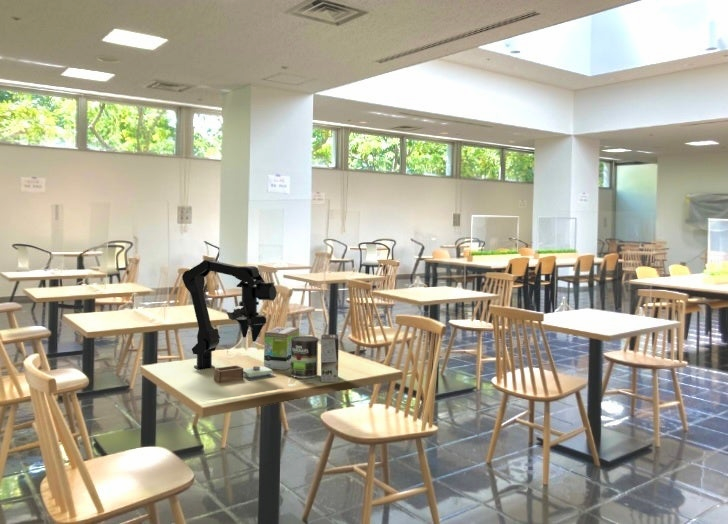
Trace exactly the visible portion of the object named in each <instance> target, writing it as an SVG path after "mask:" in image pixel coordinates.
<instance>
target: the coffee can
mask: <svg viewBox="0 0 728 524" xmlns="http://www.w3.org/2000/svg"><path fill="white" fill-rule="evenodd" d="M318 349H319V338H318V337H316V336H312V335H311V336H310V335H309V336H308V335H307V336H306V335H305V336H304V335H303V336H302V335H299V336H298V337H293V338H291V367H290V377H292V376H295V377H297V378H296V379H312V378H311V377H313V378H316V377H317V376H318V375H317V374H318V357H319V355H318V354H319V351H318ZM315 376H316V377H315ZM295 377H294V378H295Z"/></svg>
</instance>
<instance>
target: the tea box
mask: <svg viewBox="0 0 728 524" xmlns="http://www.w3.org/2000/svg"><path fill="white" fill-rule="evenodd" d="M299 334H300V329H299V327H288V326H276V327H274V328H271V329H270V330H266V331H265V332H264V345H263V346H264V347H263V349H264V351H263V366H265V367H267V368H269V369H271V370H282V371H283V370H284V371H285V370H287V369H289V368H291V338H293V337H298V336H300V335H299Z"/></svg>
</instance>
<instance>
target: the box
mask: <svg viewBox="0 0 728 524" xmlns="http://www.w3.org/2000/svg"><path fill="white" fill-rule="evenodd" d="M243 369H244V368H243V367H242V366H240V365H237V364H236V365H230V366H222V367H215V368H213V380H214V381H215V382H217V383H218V384H223V383H224V384H225V383H230V382H231V383H232V382H236V381H238V382H239V381H244V378H243Z"/></svg>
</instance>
